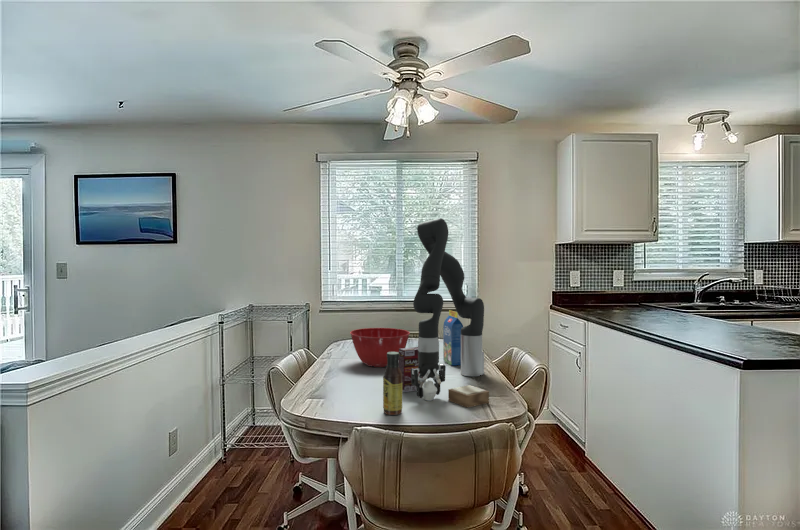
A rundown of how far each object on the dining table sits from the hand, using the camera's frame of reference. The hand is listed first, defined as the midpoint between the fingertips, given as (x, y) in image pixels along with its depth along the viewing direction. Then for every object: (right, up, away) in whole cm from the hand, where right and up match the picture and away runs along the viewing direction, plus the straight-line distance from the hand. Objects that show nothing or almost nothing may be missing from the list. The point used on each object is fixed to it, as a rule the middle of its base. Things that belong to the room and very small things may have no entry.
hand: (428, 395), depth 176 cm
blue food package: (+15, -1, +60) cm, 62 cm away
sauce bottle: (-13, -2, -15) cm, 20 cm away
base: (+14, -1, -3) cm, 14 cm away
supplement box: (-6, -1, +13) cm, 14 cm away
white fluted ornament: (0, -2, 0) cm, 2 cm away
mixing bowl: (-20, -1, +59) cm, 62 cm away
